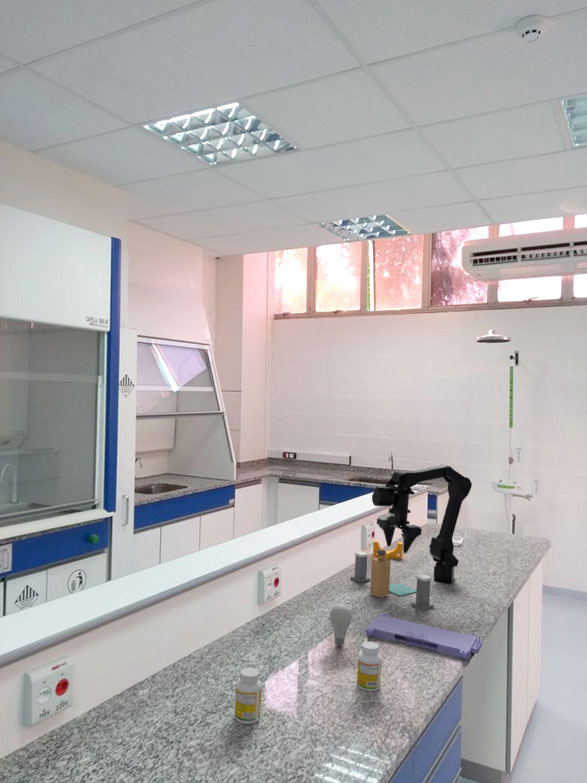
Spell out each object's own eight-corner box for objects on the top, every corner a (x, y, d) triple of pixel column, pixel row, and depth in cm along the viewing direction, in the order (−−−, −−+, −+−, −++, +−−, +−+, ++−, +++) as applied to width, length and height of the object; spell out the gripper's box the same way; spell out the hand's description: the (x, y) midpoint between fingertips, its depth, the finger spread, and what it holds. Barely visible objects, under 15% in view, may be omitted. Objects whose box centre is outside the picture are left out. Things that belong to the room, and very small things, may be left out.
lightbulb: (353, 643, 163) (354, 603, 163) (347, 652, 157) (349, 611, 157) (331, 639, 165) (333, 599, 165) (325, 648, 159) (327, 607, 159)
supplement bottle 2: (365, 678, 144) (366, 638, 144) (384, 686, 140) (386, 645, 140) (352, 686, 140) (354, 644, 140) (372, 694, 136) (374, 652, 136)
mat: (399, 584, 215) (399, 583, 215) (417, 592, 208) (417, 591, 208) (380, 588, 210) (381, 587, 210) (399, 596, 203) (399, 595, 203)
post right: (360, 577, 222) (362, 550, 222) (370, 580, 218) (371, 554, 218) (350, 579, 219) (351, 552, 219) (359, 583, 215) (361, 555, 215)
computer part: (473, 666, 154) (483, 645, 167) (474, 649, 154) (484, 630, 167) (363, 638, 168) (381, 621, 181) (364, 623, 168) (382, 607, 181)
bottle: (379, 591, 207) (381, 548, 207) (389, 595, 203) (391, 551, 203) (370, 593, 204) (372, 550, 204) (379, 598, 200) (381, 553, 200)
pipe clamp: (373, 558, 248) (373, 542, 248) (372, 555, 253) (373, 540, 253) (402, 560, 247) (403, 544, 247) (401, 557, 252) (402, 542, 252)
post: (421, 602, 198) (423, 573, 198) (433, 607, 194) (435, 577, 193) (411, 605, 195) (412, 575, 195) (423, 610, 191) (424, 579, 191)
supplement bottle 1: (247, 728, 121) (249, 680, 121) (229, 717, 124) (231, 671, 124) (265, 717, 125) (267, 671, 125) (247, 708, 128) (249, 663, 128)
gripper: (366, 501, 219) (363, 544, 219) (399, 512, 203) (395, 558, 203) (390, 501, 225) (387, 542, 225) (424, 511, 209) (420, 556, 208)
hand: (396, 549), depth 215 cm, fingers open, 9 cm apart
